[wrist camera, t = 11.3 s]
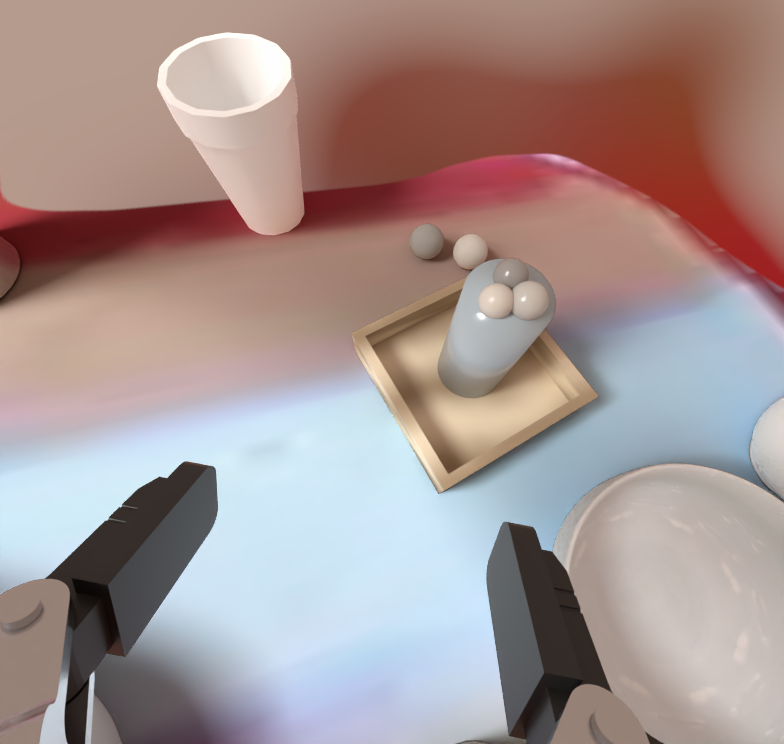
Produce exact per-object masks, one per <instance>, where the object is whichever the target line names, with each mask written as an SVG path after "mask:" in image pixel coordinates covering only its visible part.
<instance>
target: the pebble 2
mask: <svg viewBox="0 0 784 744" xmlns="http://www.w3.org/2000/svg"><path fill="white" fill-rule="evenodd" d="M487 254H488V248H487V244H486V242H485V240H484V239H483V238H482V237H480V236H479V235H476V234H467V235H464V236H462V237H461V238H460V239H459V240H458V241H457V242H456V244H455V246H454V250H453V256H454V259H455V261H456V263H457V264H458V265H459V266H460V267H462V268H464V269H475V268H476V267H477V266H479V265H480V264H482V263H483V262H484V261H485V259H486V257H487Z"/></svg>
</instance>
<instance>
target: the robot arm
mask: <svg viewBox="0 0 784 744" xmlns="http://www.w3.org/2000/svg"><path fill="white" fill-rule="evenodd" d="M19 270H20V257H19V254H18V252H17V250H16V249H15V247H14V246H13V245H11V244H10V243H9V242H8V241H6V240H5V239H3V238H2V237H1V236H0V298H1V297H2V296H3V295H5V294H6V292H7V291H8V290H9V289H10V288H11V286H12V285H13V283H14V282H15V280H16V278H17V276H18V273H19ZM217 511H218V501H217V482H216V470H215V468H214V467H213V466H208V465H203V464H198V463H192V462H183V463H182V464H181V465H179V466H178V467H177V469H176V470H175V471H174V472H173V473H172V474H171V475H170V476H169V477H168V478H163V477H158V478H157V479H155V480H153V481H151V482H149V483H148V484H146V485H144V486H142V487H140V488H139V489H138V490H137V491H135V492H134V493H133V494H132V495H131V496H130V497H129V498H128V499H127V500H126V501H125V502H124V503H123V504H122V507H121V508H120V507H119V508H118V509H117V510H116V511H115V512H114V513H113V514H112V515H111V516H110V517H109V519H108V521H105V522H104V523H103V524H102V525H101V526H99V527H98V528H97V529H96V530H95V531H94V532H93V533H92V534H91V535H90V536H89V537H88V538H87V539H86V540H85V541H84V542H83V543H82V544H81V545H80V546H79V547H78V548H77V549H76V550H75V551H74V552H73V553H72V554H71V555H70V556H69V557H68V558H67V559H66V560H65V561H63V562H62V563H61V564H60V565H59V566H58V567H57V568H56V569H55V570H54V571H53V572H52V573H51V574H50V575H49V576H48V577H46V578H45V579H39V580H34V581H30V582H27V583H24V584H21V585H18V586H16V587H14V588H12V589H10V590H8V591H6V592H4V593H3V594H1V595H0V744H91V732H92V715H93V698H94V681H95V674H94V670H95V669H96V667H97V666H98V665H99V663H100V662H101V660H102V659H103V658H104V656H105V655H106V653H108V654H113V655H118V656H123V657H126V655H127V654H128V652H129V651H130V649H131V648H132V646H133V645H134V643H135V642H136V640H137V639H138V637H139V636H140V635H141V633H142V632H143V630H144V629H145V627H146V626H147V624H148V623H149V621H150V620H151V618H152V617H153V615H154V614H155V612H156V611H157V609H158V608H159V606H160V605H161V603H162V602H163V600H164V599H165V598H166V596H167V595H168V593H169V592H170V590H171V589H172V587H173V586H174V584H175V583H176V581H177V580H178V578H179V577H180V575H181V574H182V572H183V571H184V569H185V568H186V566H187V565H188V563H189V562H190V560H191V559H192V558H193V556H194V555H195V553H196V552H197V550H198V549H199V547H200V546H201V544H202V543H203V541H204V540H205V538H206V537H207V535H208V534H209V532H210V531H211V529H212V527H213V525H214V522H215V520H216V516H217ZM487 589H488V596H489V603H490V610H491V617H492V624H493V630H494V637H495V644H496V651H497V658H498V665H499V671H500V678H501V685H502V692H503V699H504V706H505V712H506V719H507V726H508V733H509V736H512V737H517V738H522V739H526V742H527V744H664V743H662V742H660V741H659V740H657V739H655V738H654V737H652V736H651V735H649V734H648V733H647V732H645V731H644V729H643V727H642V725H641V724H640V722H639V720H638V719H637V717H636V716H635V715H634V713H633V712H632V711H631V710H630V709H629V707H628V706H627V705H626V704H625V703H624V702H623V701H622V700H620V699H619V698H618V697H617V696H615V695H614V694H613V692H612V690H611V688H610V686H609V684H608V681H607V678H606V676H605V673H604V670H603V668H602V665H601V662H600V659H599V657H598V654H597V651H596V649H595V646H594V643H593V640H592V638H591V635H590V632H589V630H588V627H587V624H586V622H585V619H584V616H583V613H581V608H580V605H579V603H578V600H577V597H576V596H575V595H574V589H573V586H572V584H571V581H570V578H569V576H568V573H567V570H566V569H565V568H564V566H563V565H562V564H561V563H560V561H559V560H558V559H557V557H556V556H555V555H554V553H553V552H551V551H546V550H542V549H541V546H540V543H539V540H538V537H537V534H536V531H535V529H534V528H533V527H530V526H525V525H519V524H514V523H509V522H504V523H503V524H502V526H501V528H500V531H499V533H498V536H497V539H496V541H495V544H494V547H493V550H492V552H491V555H490V558H489V561H488V565H487Z"/></svg>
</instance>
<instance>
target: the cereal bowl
mask: <svg viewBox="0 0 784 744" xmlns="http://www.w3.org/2000/svg"><path fill="white" fill-rule="evenodd" d="M552 552H553V553H554V555H555V556H556V557H557V559H558V560H559V561H560V563H561V564H562V565H563V566H564V568H565V569H566V570H567V573H568V576H569V578H570V581H571V584H572V586H573V589H574V595H575V596H576V597H577V600H578V603H579V605H580V608H581V613H583V616H584V619H585V622H586V624H587V627H588V630H589V632H590V635H591V638H592V640H593V643H594V646H595V649H596V651H597V654H598V657H599V659H600V662H601V665H602V668H603V670H604V673H605V676H606V678H607V681H608V684H609V686H610V688H611V690H612V692H613V694H614V695H615V696H617V697H618V698H619V699H620V700H622V701H623V702H624V703H625V704H626V705H627V706H628V707H629V709H630V710H631V711H632V712H633V713H634V715H635V716H636V717H637V719H638V720H639V722H640V724H641V725H642V727H643V729H644V731H645V732H647V733H648V734H649V735H651V736H652V737H654V738H655V739H657V740H659V741H660V742H662V743H664V744H784V502H782V501H781V500H780V499H778V498H777V497H775V496H774V495H772V494H770V493H769V492H767V491H765V490H764V489H762V488H761V487H759V486H757V485H755V484H753V483H751V482H749V481H747V480H745V479H742V478H740V477H738V476H736V475H733V474H730V473H727V472H724V471H721V470H718V469H714V468H709V467H705V466H700V465H692V464H682V463H670V464H659V465H651V466H646V467H643V468H638V469H636V470H631V471H629V472H626V473H622V474H620V475H618V476H616V477H613V478H611V479H608V480H607V481H605V482H603V483H601V484H599V485H598V486H597V487H595V488H593V489H591V490H590V492H588V493H587V494H585V495H584V496H583V498H581V500H580V501H579V502H578V503H577V504H575V505H574V507H573V509H572V510H571V511H570V512H569V513H568V516H567V517H566V518H565V520H564V522H563V524H562V525H561V528H560V529H559V532H558V535H557V537H556V539H555V543H554V546H553V551H552Z"/></svg>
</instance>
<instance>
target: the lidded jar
mask: <svg viewBox="0 0 784 744" xmlns="http://www.w3.org/2000/svg"><path fill="white" fill-rule="evenodd" d="M749 454H750V459H751V463H752V466H753V468H754V470H755V472H756V473H757V475H758V476H759V478H760V479H761V480H762V482H763V483H764V484H765V485H766V486H767V487H768V488H769V489H770V490H772V491H773V492H774V493H776V494H777V495H779V496H780V497H781V498H783V499H784V397H783V398H781V399H779V400H778V401H776V402H775V403H773V404H772V405H771V406H770V407H769V408H768V409H767V410H766V411H765V412H764V413H763V414H762V415H761V417H760V418H759V420H758V421H757V423H756V425H755V428H754V430H753V435H752V439H751V442H750V448H749Z"/></svg>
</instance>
